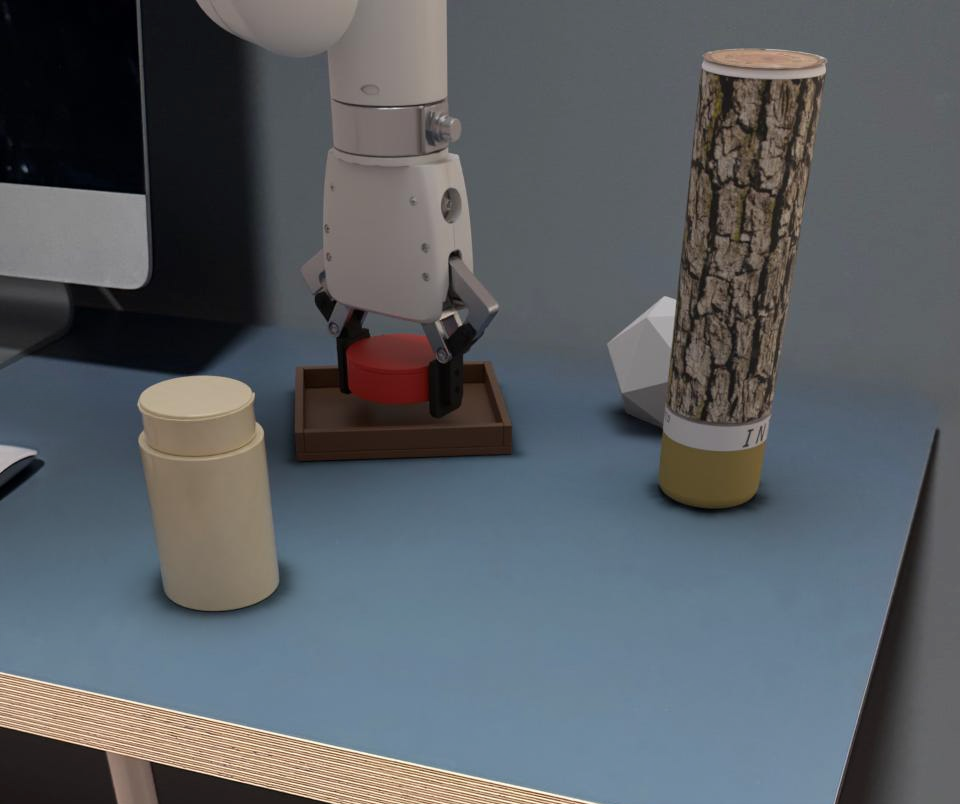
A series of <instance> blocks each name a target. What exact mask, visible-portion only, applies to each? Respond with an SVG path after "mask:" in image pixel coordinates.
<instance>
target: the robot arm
mask: <svg viewBox="0 0 960 804" xmlns="http://www.w3.org/2000/svg"><path fill="white" fill-rule="evenodd" d="M195 1H196V2H197V4H198V5H199V7H200V8H201V10H202V11H203V12H204V13H205V14H206V16H207V17H208V18H209V19H211V20H212V21H213V22H214V23H215V24H216V25H218V26H219V27H220V28H222V29H223V30H225V31H226V32H228V33H229V34H232V35H234V36H236V37H238V38H239V39H242V40H244V41H246V42H249V43H251V44H254V45H257V46H259V47H261V48H263V49H264V50H267V51H268V52H271V53H273V54H274V55H278V56H281V57H285V58H290V59H305V58H309V57H314V56H318V55H320V54H322V53H324V52H326V51H327V52H326V53H327V67H328V81H329V83H328V84H329V95H330V109H331V110H330V112H331V113H330V114H331V129H332V143H333V147H331V148H330V149H328V151H327V157H326V164H325V174H324V184H323V185H324V186H323V202H322V205H323V207H322V209H323V210H322V243H323V247H322V248H320V249H319V250H318V251H317V253H315V254H314V255H313V256H312V257H311V258H310V259H308V260H307V261H306V262H305V263H304V264H303V265H302V266H301V268H300V275H301V277H302V279H303V281H304V283H305V284H306V286H307V288H308V290H309V292H310V293H311V295H312V296H314V304H315V306H316V307H317V309H318V311H319V312H320V314H321V315H322V316H323V318H324V320H325V321H326V322H327V325H326V326H327V333H328V334H329V335H330V336H331V337H332V338H334V339H335V340H336V341H335V342H336V355H337V357H336V358H337V365H338V372H339V384H340V392H341V393H344V394H347V395H348V394H351V393H352V392H351V391H350V389H349V387H348V372H347V356H346V352H347V349H348V347H349V346H350V345H352V344H353V343H355V342H357V341H360V340H362V339H365V338H369V337H371V333H370V328H367V327H363V325H364V322H365V320H366V318H367V316H368V313H371V314H375V315H379V316H380V315H381V316H384V317H389V318H392V319H393V318H394V319H397V320H402V321H406V322H411V323H412V322H413V323H418V324H420V326H421V327H422V329H423V332H424V334H425V336H427V339H428V341H429V343H430V345H431V348H432V350H433V352H434V355H435V357H436V359H435V360H433V361H431V362H430V363H429V366H428V370H429V412H430V414H431V416H432V417H434V418H438V419H439V418H441V417H443V416H445V415H447V414H449V413H451V412H452V411H454V410H456V409H458V408H459V407H460V406H461V403H462V398H463V362H464V355H465V354H467V353H469V352H470V351H471V349H472V347H473V346H474V345H475V344H476V343H477V342H478V341H479V340H480V339H481V338H482V337H483V335H484V334H485V330H486V329H487V328H488V327H489V325H490V324H491V323H492V321H493V320H494V318H495V317H496V316H497V314H499V312H500V305H499V303H498V301H497V300H496V299H495V297H493V295H492V294H491V293H490V292H489V290H487V289H486V287H485V286H484V285H483V284H482V282H481V281H480V280H479V279H478V278H477V276H475V274H474V256H473V255H474V253H473V240H472V227H471V218H470V217H471V216H470V207H469V201H468V193H467V188H466V182H465V177H464V173H463V167H462V164H461V159H460V156H459V154H456V153H451V152H449V146H450V142H451V143H457V142H458V141H459V140H460V139H461V135H462V130H463V129H462V128H463V127H462V121H461V120H460V119H459V118H457V117H452V116H451V115H450V114H449V113H450V112H449V109H450V106H449V105H450V103H449V97H448V12H447V11H448V10H447V8H448V6H447V3H448V0H195ZM464 309H467V310H468V313H467V316H466V317H465V320H464V322H462V319H461V317H460V314H459V312H458V311H461V310H464ZM442 324H443V326H442ZM443 327H444V328H443ZM444 329H445V330H444ZM446 334H447V335H446ZM447 336H448V337H447Z"/></svg>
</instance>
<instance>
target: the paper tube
mask: <svg viewBox="0 0 960 804" xmlns="http://www.w3.org/2000/svg"><path fill="white" fill-rule="evenodd" d="M702 57H703V61H702V63H701V65H700V73H699V84H698V94H697V104H696V110H695V111H696V112H695V113H696V114H695V122H694V132H693V140H692V151H691V160H690V169H689V177H688V178H689V179H688V188H687V197H686V206H685V217H684V226H683V236H682V244H681V254H680V263H679V273H678V281H677V290H676V291H677V292H676V310H675V319H674V328H673V338H672V347H671V357H670V366H669V376H668V385H667V394H666V404H665V413H664V423H663V428H662V436H661V446H660V455H659V464H658V475H657V481H658V486H659V487H660V488H661V490H662V492H663V493H664V494H665V495H666V496H667V497H669V498H670V499H672V500H674V501H675V502H677V503H680V504H683V505H686V506H689V507H694V508H699V509H712V510H713V509H714V510H715V509H728V508H733V507H737V506H740V505H742V504H744V503H746V502H748V501H750V500H751V499H752V498H753V497H754V496H755V495H756V494H757V492H758V490H759V487H760V481H761V475H762V470H763V464H764V463H763V462H764V456H765V450H766V445H767V439H768V435H769V428H770V423H771V422H770V421H771V417H772V408H773V405H774V398H775V392H776V385H777V379H778V374H779V373H778V372H779V367H780V360H781V355H782V348H783V342H784V341H783V340H784V335H785V329H786V323H787V317H788V310H789V305H790V299H791V293H792V287H793V280H794V274H795V267H796V261H797V255H798V249H799V242H800V238H801V237H800V236H801V231H802V224H803V217H804V212H805V205H806V199H807V192H808V187H809V180H810V175H811V168H812V162H813V157H814V149H815V144H816V138H817V132H818V126H819V125H818V124H819V119H820V113H821V106H822V101H823V94H824V87H825V83H826V82H825V81H826V76H827V68H826V64H827V63H828V59H827V58H826V57H823V56H820V55H819V54H813V53H808V52H803V51H795V50H788V49H787V50H786V49H774V48H773V49H771V48H729V49H718V50H712V51H708V52H706V53H704V54H703V55H702Z"/></svg>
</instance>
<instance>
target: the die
mask: <svg viewBox="0 0 960 804" xmlns="http://www.w3.org/2000/svg"><path fill="white" fill-rule="evenodd" d="M676 300H677V298H676V299H675V298H672V297H669V296H666V295H664V296H663V297H661V298H660V299H659V300H658V301H657V302H655V303H654V304H653V305H651V306H650V308H647V310H646V311H644V312H643V313H641V314H640V315H639V316H638V317H637V318H636V319H635V320H634V321H632V322H631V323H630V324H629V325H627V326H626V327H625V328H624V329H622V331H620V332H619V333H618V334H617V335H615V336H614V337H613V338H612V339H611V340H609V341H608V342H607V343H606V345H607V350H608V353H609V356H610V361H611V364H612V367H613V372H614V375H615V378H616V382H617V385H618V389H619V393H620V398H621V401H622V404H623V408H624V411H625V414H626V415H630V416H632V417H635V418H636V419H638V420H642V421H644V422H646V423H648V424H651V425H653V426H656V427H658V428H660V429H663V423H664V413H665V404H666V394H667V385H668V376H669V366H670V357H671V347H672V338H673V328H674V319H675V310H676Z"/></svg>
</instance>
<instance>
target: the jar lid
mask: <svg viewBox="0 0 960 804" xmlns="http://www.w3.org/2000/svg"><path fill="white" fill-rule="evenodd" d="M346 356H347V372H348V387H349V389H350V391H351V392H352V393H353V394H354V395H356V396H357V397H359V398H362V399H365V400H367V401H372V402H377V403H384V404H413V403H420V402H426V401H429V370H428V366H429V363H430V362H431V361H433V360H435V359H436V357H435V355H434V352H433V350H432V348H431V345H430V343H429V341H428V339H427V336H426V335H421V334H413V333H388V334H380V335H373V336H370V337H369V338H365V339H362V340H360V341H357V342H355V343H353V344H352V345H350V346H349V347H348V349H347V352H346Z"/></svg>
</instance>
